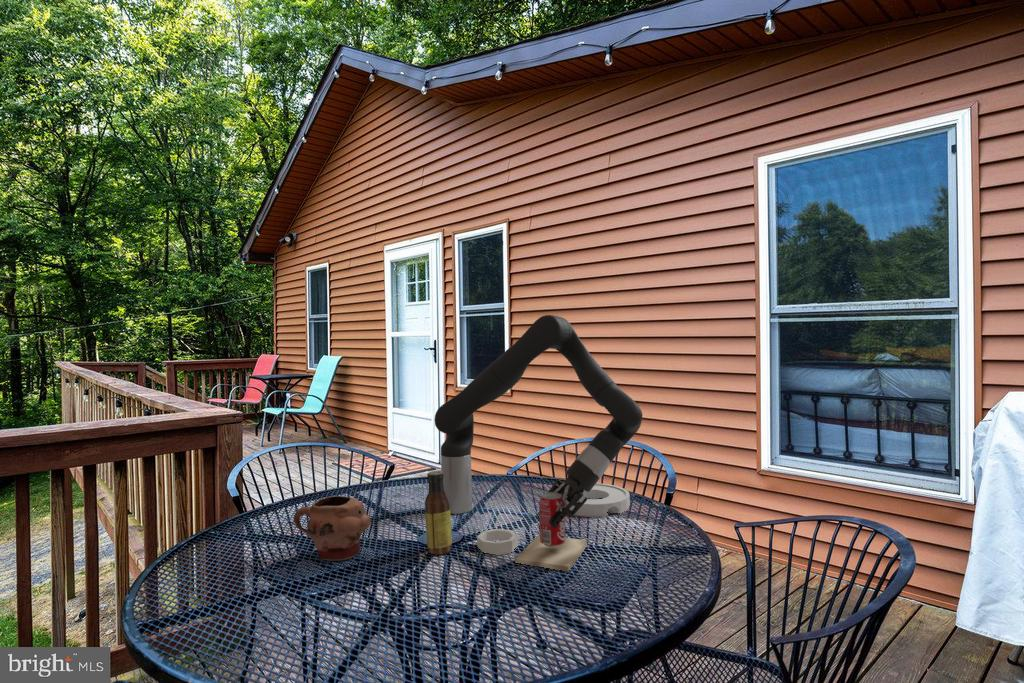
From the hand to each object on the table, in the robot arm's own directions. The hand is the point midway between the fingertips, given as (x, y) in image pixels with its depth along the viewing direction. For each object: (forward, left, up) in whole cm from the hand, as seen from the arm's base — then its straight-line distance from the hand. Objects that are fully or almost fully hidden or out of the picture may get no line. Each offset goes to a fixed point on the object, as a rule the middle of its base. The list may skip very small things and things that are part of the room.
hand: (546, 521), depth 141 cm
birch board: (+1, +1, -8) cm, 8 cm away
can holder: (-13, +1, -8) cm, 16 cm away
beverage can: (+1, +1, -6) cm, 6 cm away
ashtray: (+1, +43, -9) cm, 43 cm away
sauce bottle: (-26, -6, -9) cm, 28 cm away
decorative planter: (-50, -17, -9) cm, 54 cm away
